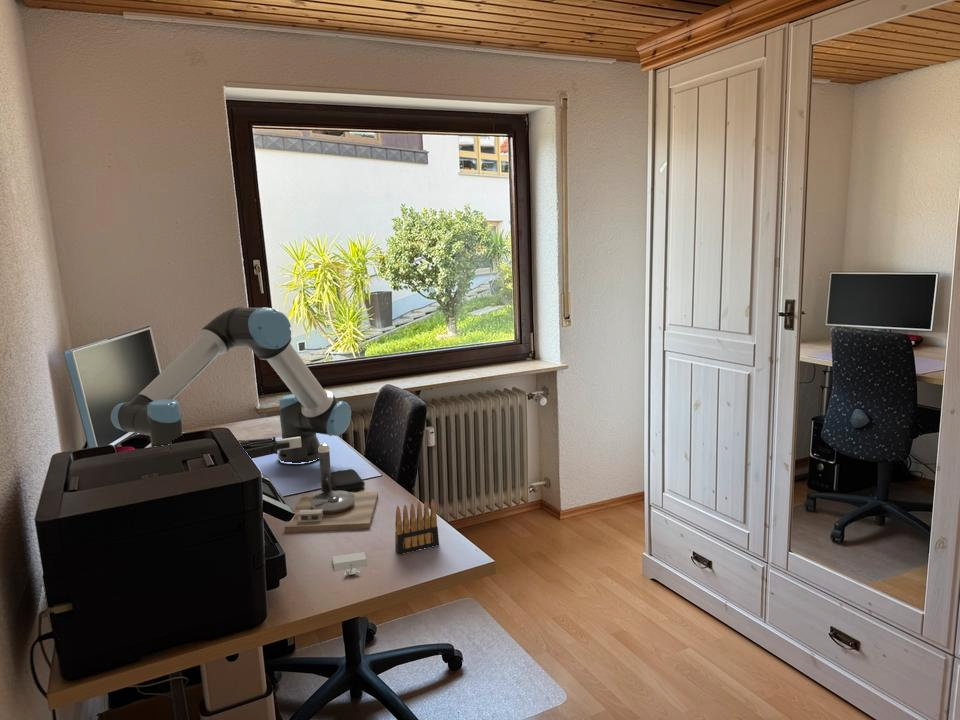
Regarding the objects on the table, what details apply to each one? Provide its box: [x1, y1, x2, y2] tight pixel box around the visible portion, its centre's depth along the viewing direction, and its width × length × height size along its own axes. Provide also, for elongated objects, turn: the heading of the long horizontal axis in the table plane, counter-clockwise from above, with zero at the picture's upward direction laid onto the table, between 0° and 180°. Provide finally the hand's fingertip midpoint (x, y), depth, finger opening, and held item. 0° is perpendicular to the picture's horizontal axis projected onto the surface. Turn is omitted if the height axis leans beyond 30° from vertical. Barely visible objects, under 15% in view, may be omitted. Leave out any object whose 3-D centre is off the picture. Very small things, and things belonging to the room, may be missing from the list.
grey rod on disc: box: [310, 443, 355, 514], centre depth 182 cm, size 15×12×16 cm
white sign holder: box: [332, 551, 368, 578], centre depth 149 cm, size 7×12×2 cm, turn 16°
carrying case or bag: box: [331, 468, 366, 492], centre depth 202 cm, size 11×3×15 cm
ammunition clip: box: [394, 498, 440, 556], centre depth 157 cm, size 11×2×12 cm, turn 114°
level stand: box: [284, 491, 379, 533], centre depth 181 cm, size 22×22×4 cm
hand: (300, 441), depth 182 cm, fingers closed
